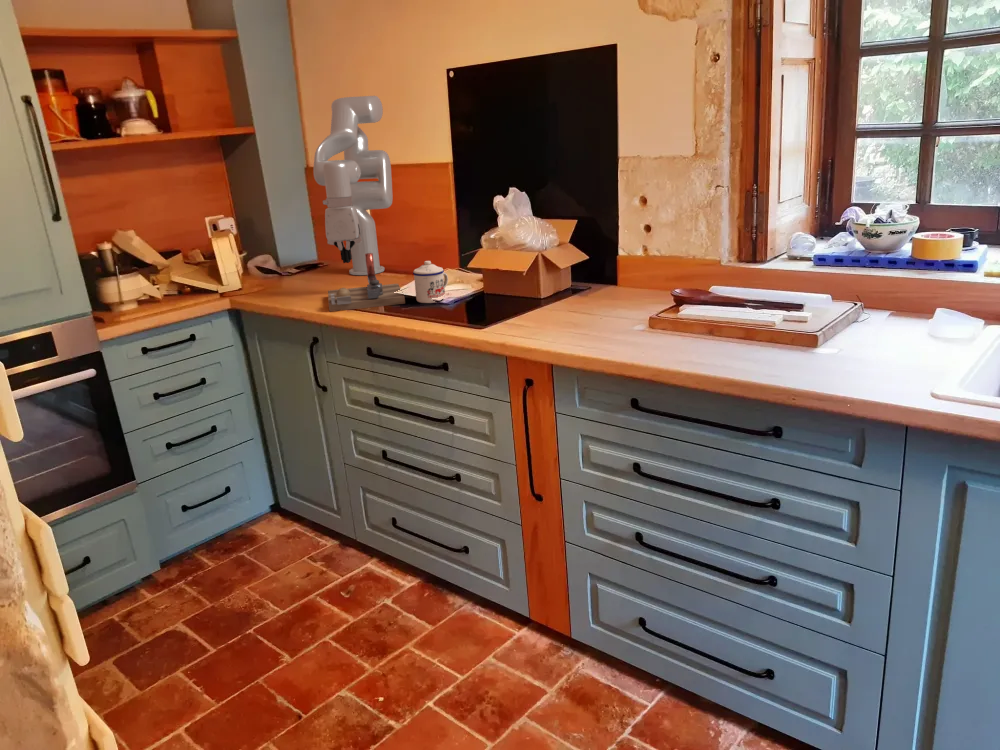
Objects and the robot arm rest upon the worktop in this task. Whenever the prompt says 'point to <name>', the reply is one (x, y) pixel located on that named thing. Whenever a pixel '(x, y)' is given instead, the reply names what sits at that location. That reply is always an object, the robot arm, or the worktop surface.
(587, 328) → the worktop surface
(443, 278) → the teacup with lid
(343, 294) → the walnut
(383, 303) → the nutcracker base
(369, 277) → the lever
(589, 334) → the worktop surface
